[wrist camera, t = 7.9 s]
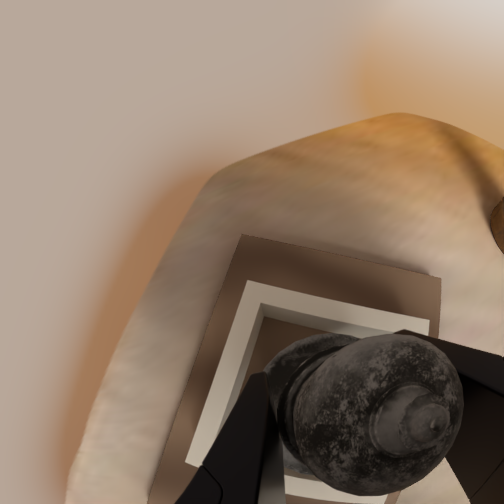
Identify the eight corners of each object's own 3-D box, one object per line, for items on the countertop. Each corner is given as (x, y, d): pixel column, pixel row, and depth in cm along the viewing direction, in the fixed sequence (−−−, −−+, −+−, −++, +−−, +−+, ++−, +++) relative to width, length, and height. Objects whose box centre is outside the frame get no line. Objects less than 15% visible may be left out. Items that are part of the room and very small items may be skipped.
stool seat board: (359, 555, 8) (372, 581, 5) (151, 507, 12) (124, 523, 8) (433, 285, 17) (458, 261, 14) (244, 243, 20) (236, 211, 17)
